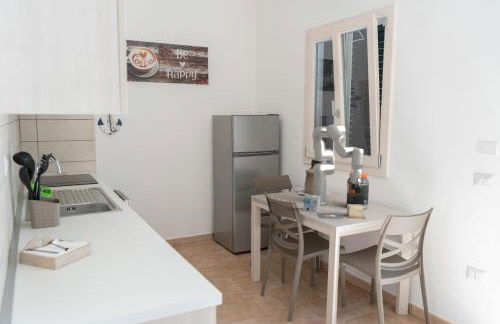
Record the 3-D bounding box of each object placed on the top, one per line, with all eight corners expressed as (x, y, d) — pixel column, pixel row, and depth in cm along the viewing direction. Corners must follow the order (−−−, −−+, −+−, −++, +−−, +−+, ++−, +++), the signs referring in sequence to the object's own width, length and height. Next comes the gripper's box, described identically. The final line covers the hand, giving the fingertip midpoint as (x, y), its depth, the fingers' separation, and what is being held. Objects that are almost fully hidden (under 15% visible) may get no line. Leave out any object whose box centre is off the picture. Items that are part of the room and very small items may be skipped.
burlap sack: (325, 198, 324) (326, 160, 320) (296, 195, 334) (298, 158, 330) (331, 192, 346) (333, 157, 342) (305, 190, 356) (306, 155, 352)
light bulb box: (302, 210, 282) (303, 195, 280) (306, 208, 287) (306, 194, 286) (317, 212, 277) (317, 197, 275) (320, 210, 282) (320, 195, 281)
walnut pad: (343, 214, 272) (343, 213, 272) (360, 214, 273) (360, 213, 272) (348, 218, 260) (348, 217, 260) (366, 218, 261) (366, 217, 261)
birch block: (346, 214, 269) (347, 204, 269) (359, 214, 270) (360, 204, 269) (349, 216, 263) (349, 206, 263) (362, 216, 264) (362, 206, 263)
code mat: (315, 213, 273) (315, 212, 273) (339, 213, 273) (339, 213, 273) (319, 218, 259) (319, 218, 259) (344, 219, 259) (344, 218, 259)
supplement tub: (367, 205, 298) (369, 172, 295) (368, 210, 283) (369, 175, 280) (346, 204, 302) (347, 171, 299) (345, 209, 287) (347, 174, 284)
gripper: (348, 164, 271) (346, 188, 273) (355, 168, 254) (353, 194, 256) (358, 164, 271) (357, 188, 273) (366, 168, 254) (364, 194, 256)
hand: (355, 191), depth 265 cm, fingers open, 9 cm apart
